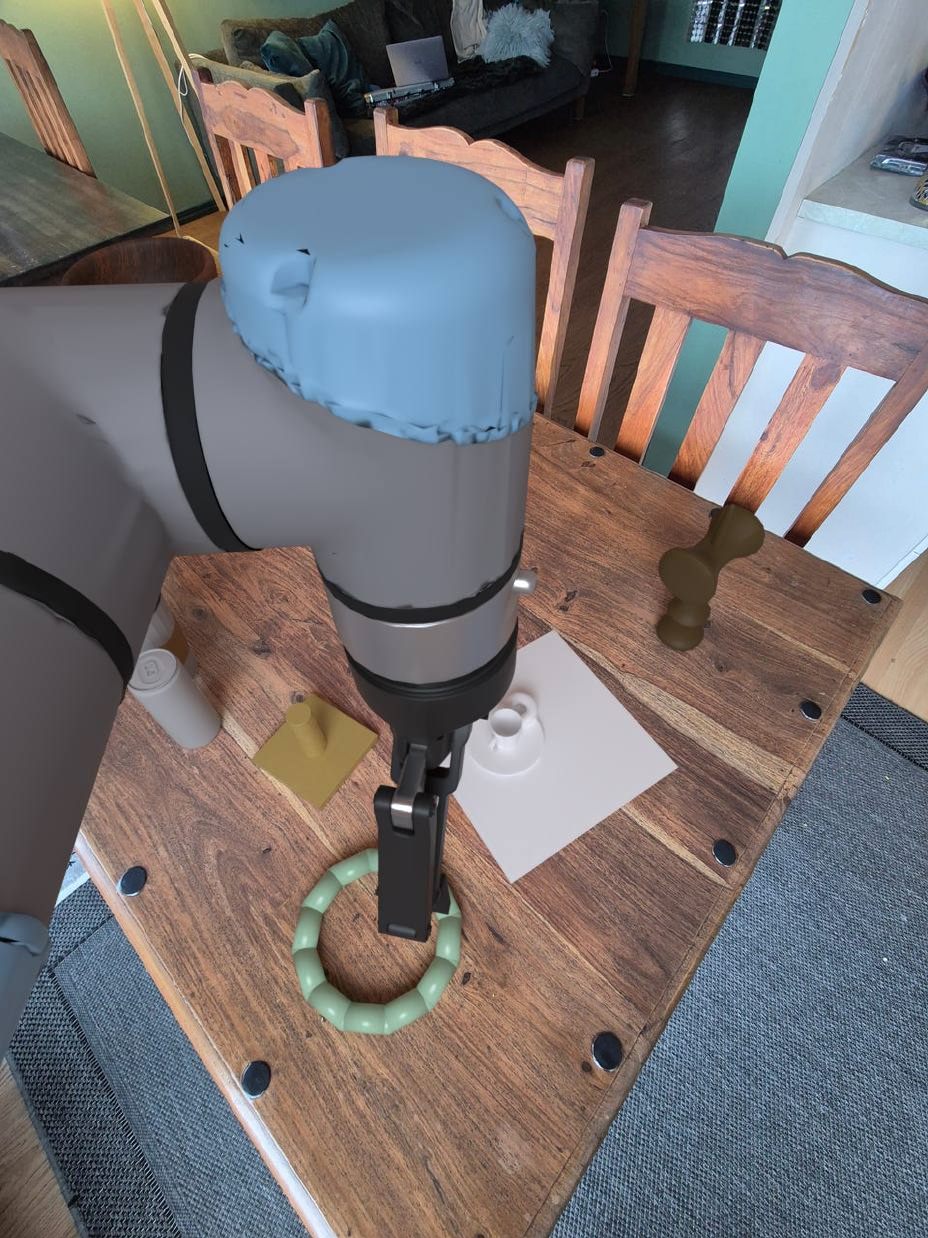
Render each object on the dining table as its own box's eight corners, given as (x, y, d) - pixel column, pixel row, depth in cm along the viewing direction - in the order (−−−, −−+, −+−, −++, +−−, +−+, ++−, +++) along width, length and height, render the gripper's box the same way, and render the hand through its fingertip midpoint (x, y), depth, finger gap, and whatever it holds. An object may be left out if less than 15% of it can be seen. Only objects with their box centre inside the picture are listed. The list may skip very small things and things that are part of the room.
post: (253, 763, 64) (227, 726, 58) (313, 697, 69) (295, 656, 62) (321, 811, 61) (301, 778, 55) (379, 739, 65) (367, 700, 59)
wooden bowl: (68, 328, 116) (35, 270, 108) (191, 279, 126) (170, 222, 117) (128, 385, 105) (97, 324, 96) (259, 326, 114) (241, 267, 106)
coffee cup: (205, 634, 74) (149, 546, 62) (211, 694, 69) (152, 610, 57) (131, 655, 73) (59, 568, 61) (132, 717, 68) (54, 636, 56)
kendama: (630, 644, 71) (671, 514, 55) (681, 596, 75) (734, 462, 59) (675, 677, 69) (731, 551, 53) (725, 626, 72) (793, 493, 56)
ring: (262, 962, 54) (255, 958, 52) (367, 823, 60) (363, 816, 59) (394, 1077, 49) (391, 1076, 47) (492, 911, 55) (492, 906, 54)
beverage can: (183, 760, 65) (130, 702, 55) (169, 724, 67) (116, 662, 58) (229, 736, 66) (184, 676, 56) (213, 702, 69) (168, 638, 59)
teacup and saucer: (520, 689, 68) (521, 669, 65) (566, 746, 64) (570, 728, 61) (450, 730, 66) (448, 711, 62) (494, 792, 62) (494, 776, 58)
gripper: (454, 964, 19) (470, 1023, 36) (554, 435, 33) (531, 657, 50) (219, 911, 20) (343, 993, 37) (414, 421, 34) (438, 643, 51)
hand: (451, 800), depth 44 cm, fingers open, 13 cm apart
